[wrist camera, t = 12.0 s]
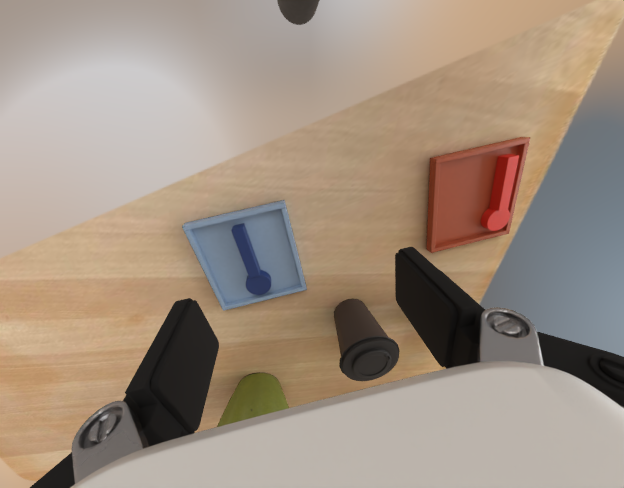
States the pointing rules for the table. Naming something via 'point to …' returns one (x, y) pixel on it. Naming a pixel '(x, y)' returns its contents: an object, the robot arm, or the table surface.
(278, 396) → the flower pot
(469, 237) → the red tray
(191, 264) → the table surface
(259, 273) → the blue spoon
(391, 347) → the coffee cup
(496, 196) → the red spoon
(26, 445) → the table surface
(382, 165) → the table surface
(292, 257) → the blue tray
